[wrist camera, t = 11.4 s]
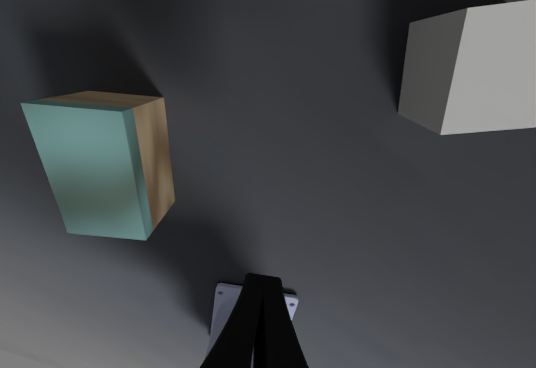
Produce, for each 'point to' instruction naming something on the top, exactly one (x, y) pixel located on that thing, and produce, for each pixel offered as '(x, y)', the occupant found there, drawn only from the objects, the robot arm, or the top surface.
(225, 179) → the top surface
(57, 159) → the oak block
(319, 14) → the top surface
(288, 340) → the robot arm
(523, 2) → the grey block
